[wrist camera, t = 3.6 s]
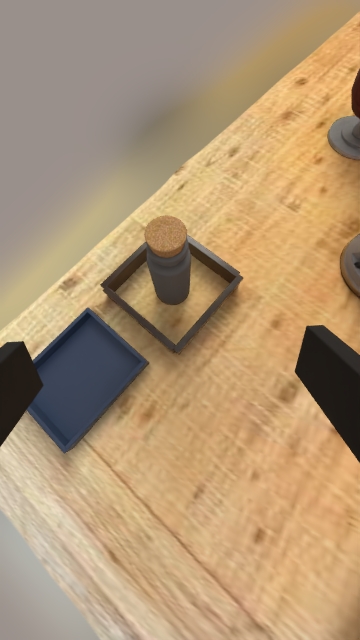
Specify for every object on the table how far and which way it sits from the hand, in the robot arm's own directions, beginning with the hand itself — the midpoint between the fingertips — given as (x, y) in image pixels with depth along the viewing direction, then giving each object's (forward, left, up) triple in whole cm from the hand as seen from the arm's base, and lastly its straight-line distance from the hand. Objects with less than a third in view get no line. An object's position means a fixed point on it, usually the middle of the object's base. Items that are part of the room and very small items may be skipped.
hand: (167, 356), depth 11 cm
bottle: (-10, -10, -25) cm, 29 cm away
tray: (+10, -11, -25) cm, 29 cm away
